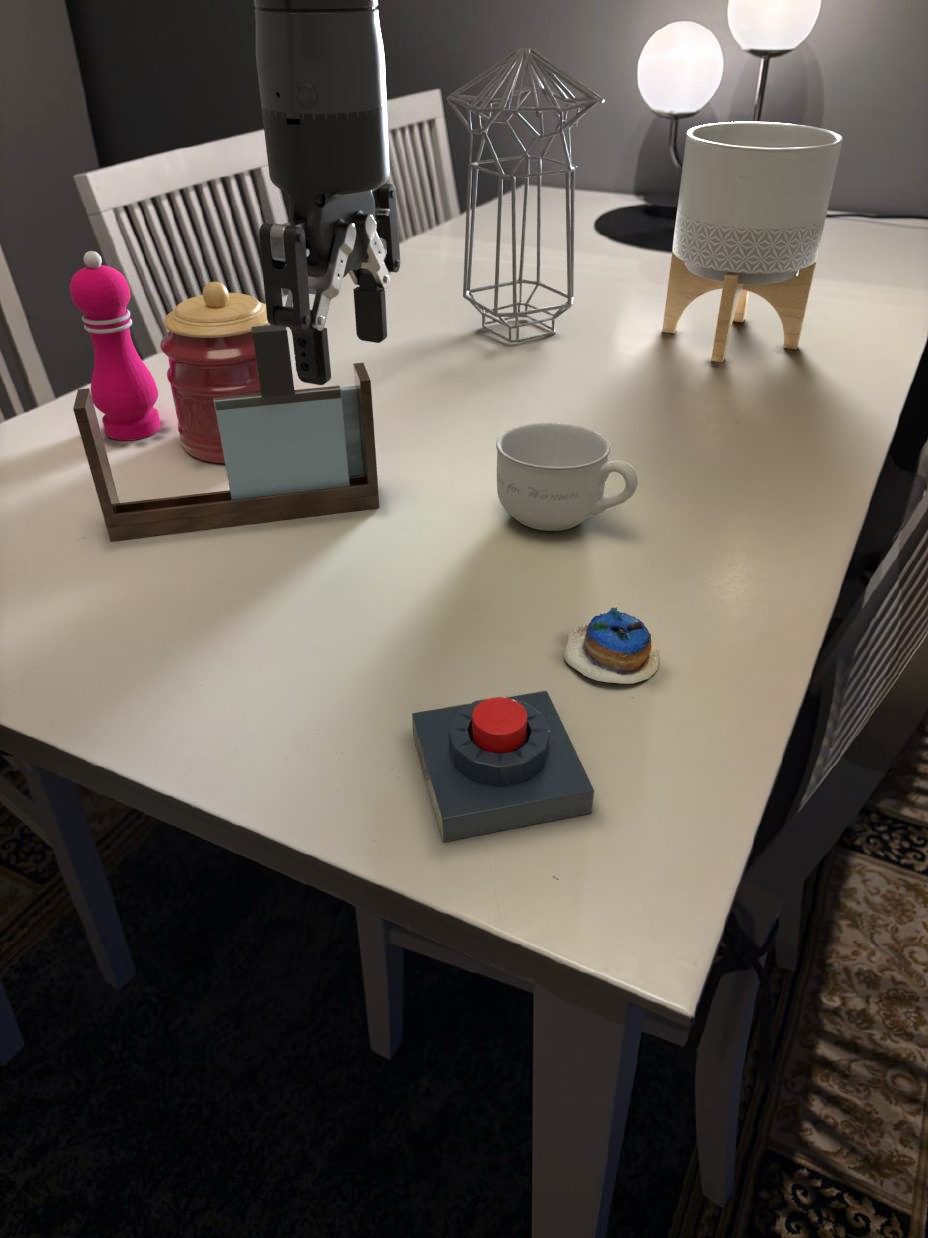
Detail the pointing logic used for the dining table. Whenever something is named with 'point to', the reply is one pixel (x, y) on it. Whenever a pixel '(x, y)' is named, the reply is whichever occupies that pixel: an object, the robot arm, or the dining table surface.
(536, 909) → the dining table surface
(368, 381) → the window frame
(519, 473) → the teacup
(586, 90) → the geometric lantern
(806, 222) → the planter
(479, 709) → the button
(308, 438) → the window pane
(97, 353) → the pepper mill
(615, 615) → the dessert
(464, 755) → the button box
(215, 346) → the kitchen canister
